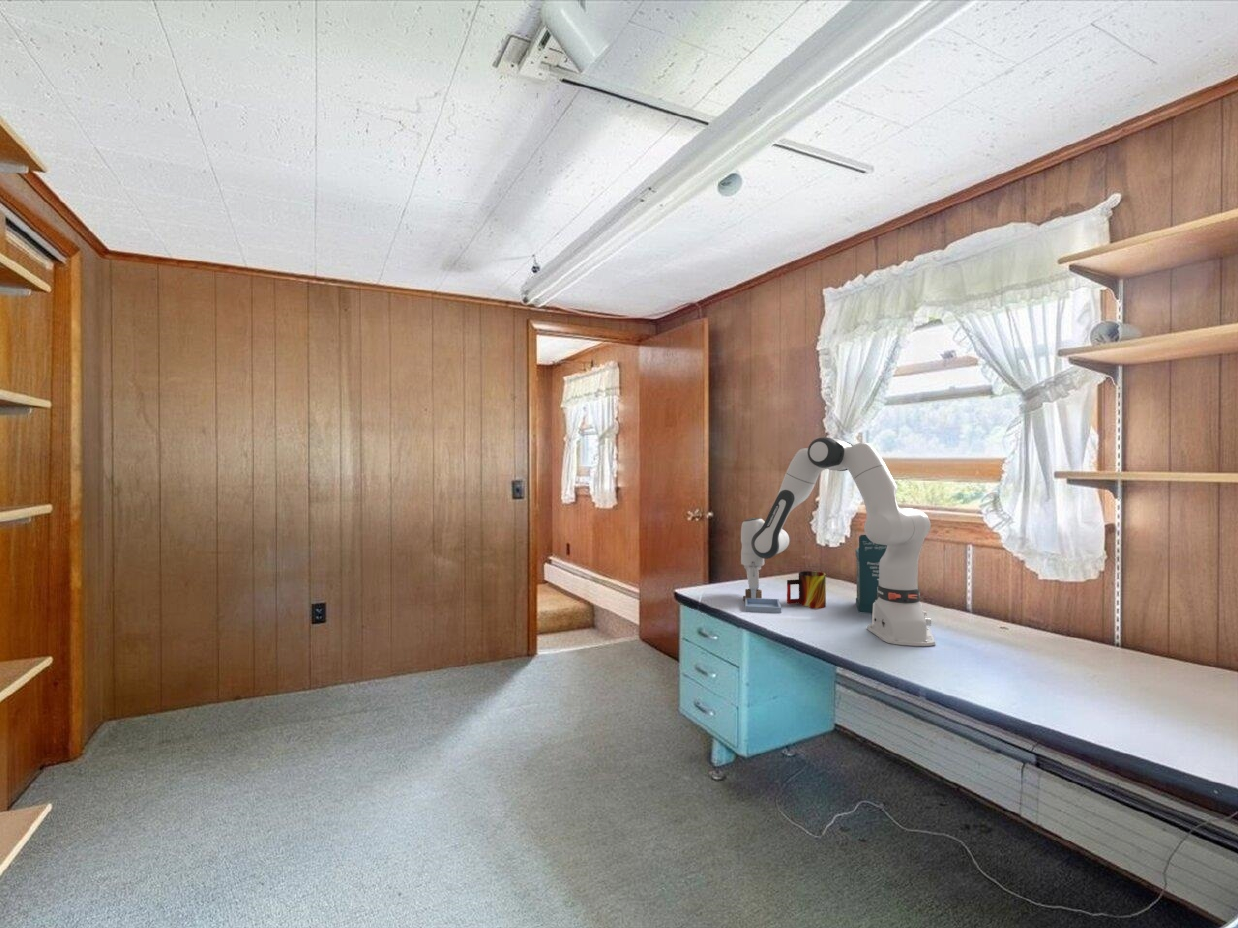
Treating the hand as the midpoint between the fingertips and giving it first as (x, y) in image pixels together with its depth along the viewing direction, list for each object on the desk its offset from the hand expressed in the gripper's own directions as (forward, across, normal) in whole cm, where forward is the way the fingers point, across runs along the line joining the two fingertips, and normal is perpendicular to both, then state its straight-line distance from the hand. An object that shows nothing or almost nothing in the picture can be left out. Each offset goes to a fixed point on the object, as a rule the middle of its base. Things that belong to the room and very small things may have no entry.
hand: (753, 595), depth 224 cm
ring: (+2, -1, 0) cm, 2 cm away
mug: (+3, -3, -20) cm, 21 cm away
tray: (+2, -10, -3) cm, 11 cm away
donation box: (+3, -2, -46) cm, 46 cm away
